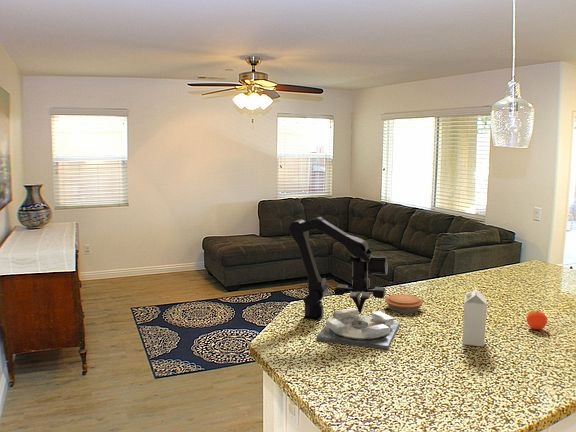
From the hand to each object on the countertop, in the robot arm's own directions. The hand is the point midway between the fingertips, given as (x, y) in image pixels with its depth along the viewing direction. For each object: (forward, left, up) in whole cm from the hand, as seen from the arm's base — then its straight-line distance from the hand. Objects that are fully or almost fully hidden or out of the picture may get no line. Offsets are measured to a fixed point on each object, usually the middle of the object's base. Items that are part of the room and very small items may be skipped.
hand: (360, 312), depth 201 cm
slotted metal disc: (+2, -10, -2) cm, 11 cm away
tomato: (+62, +17, -4) cm, 65 cm away
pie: (+13, +23, -4) cm, 27 cm away
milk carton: (+41, -5, -4) cm, 42 cm away
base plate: (+2, -10, -4) cm, 11 cm away
